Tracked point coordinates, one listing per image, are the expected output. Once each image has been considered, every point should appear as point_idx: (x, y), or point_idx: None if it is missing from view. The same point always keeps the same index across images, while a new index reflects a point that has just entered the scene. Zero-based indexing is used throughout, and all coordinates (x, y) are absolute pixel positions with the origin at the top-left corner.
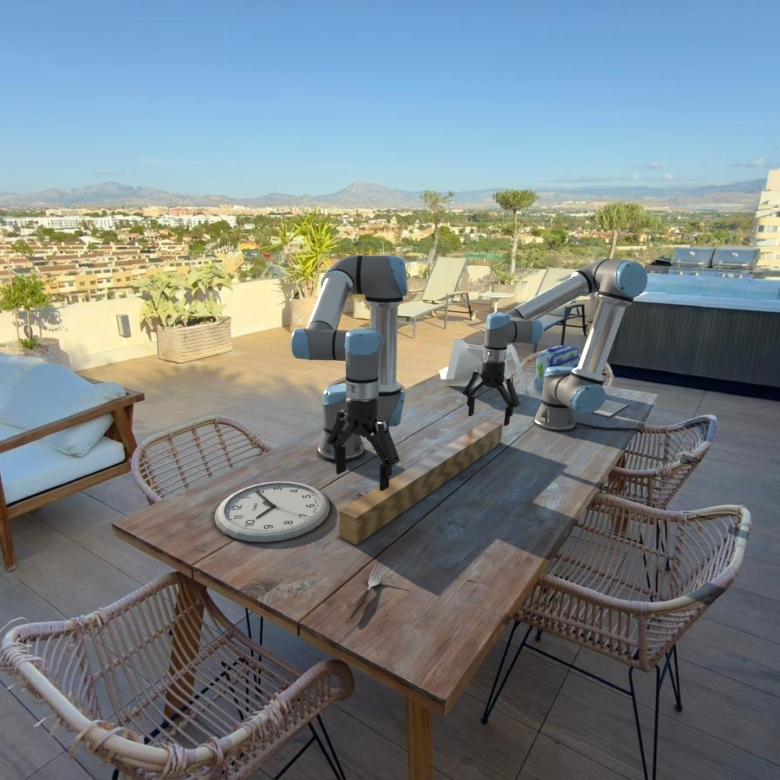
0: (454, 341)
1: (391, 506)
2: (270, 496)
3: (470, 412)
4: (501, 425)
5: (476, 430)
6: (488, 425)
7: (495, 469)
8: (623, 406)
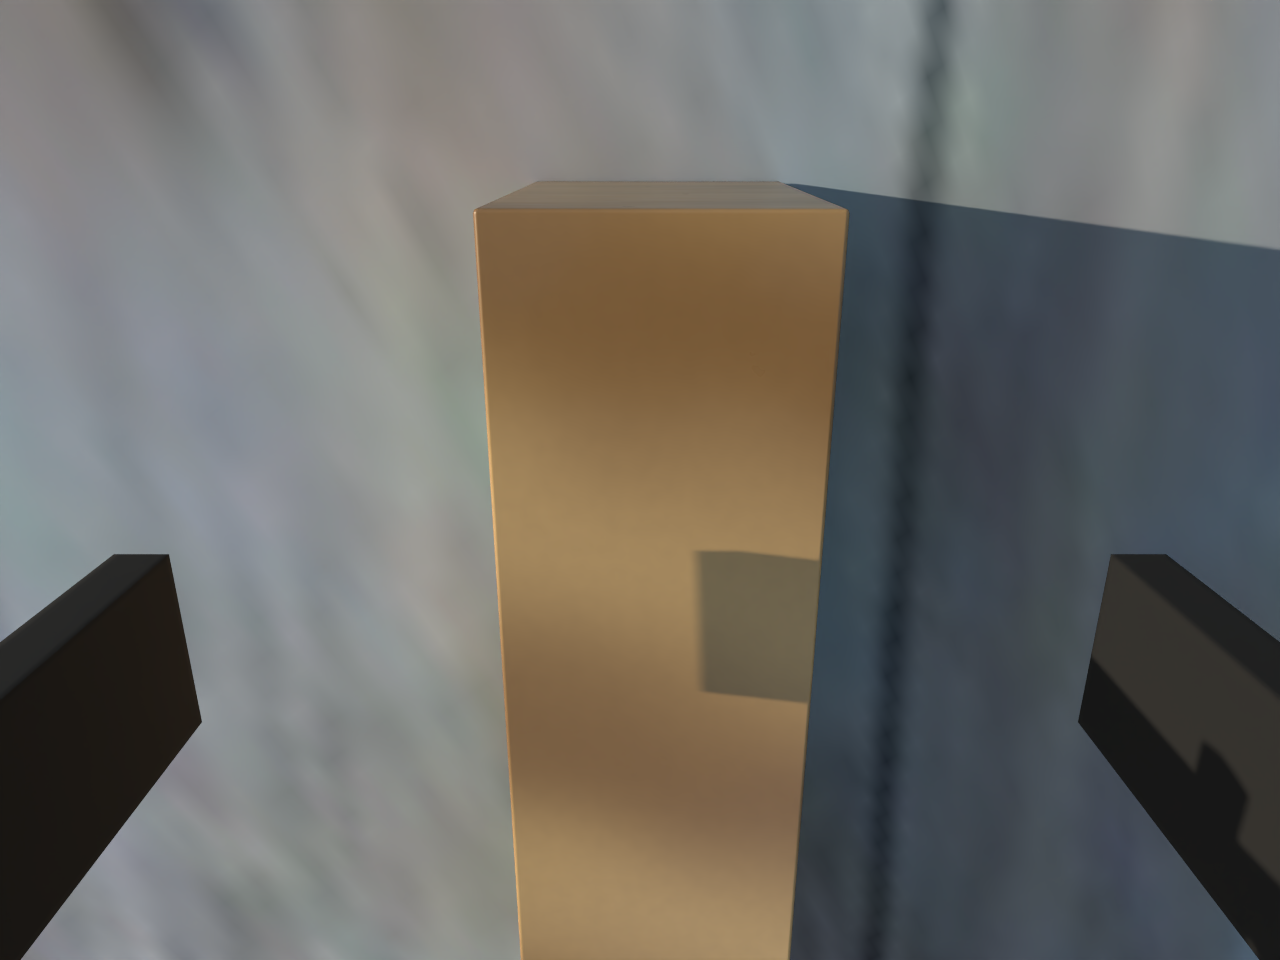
0: None
1: None
2: None
3: (146, 782)
4: (839, 275)
5: (580, 857)
6: (633, 525)
7: (1005, 909)
8: None
